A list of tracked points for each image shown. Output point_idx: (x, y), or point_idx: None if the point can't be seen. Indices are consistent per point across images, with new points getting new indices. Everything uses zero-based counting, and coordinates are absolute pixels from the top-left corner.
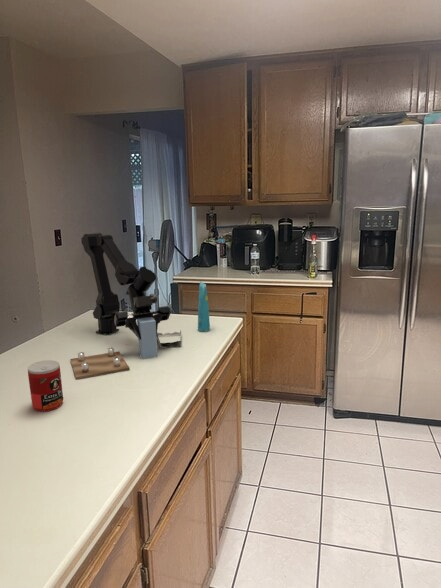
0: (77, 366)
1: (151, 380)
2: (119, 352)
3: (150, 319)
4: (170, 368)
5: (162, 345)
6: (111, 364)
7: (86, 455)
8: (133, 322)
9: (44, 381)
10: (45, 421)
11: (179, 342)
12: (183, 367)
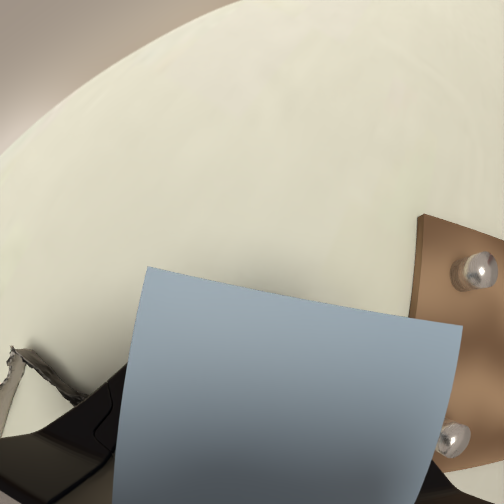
0: None
1: (363, 76)
2: None
3: (188, 452)
4: (241, 113)
5: None
6: (474, 310)
7: (490, 5)
8: (449, 498)
9: None
10: None
11: (22, 354)
12: (186, 92)
